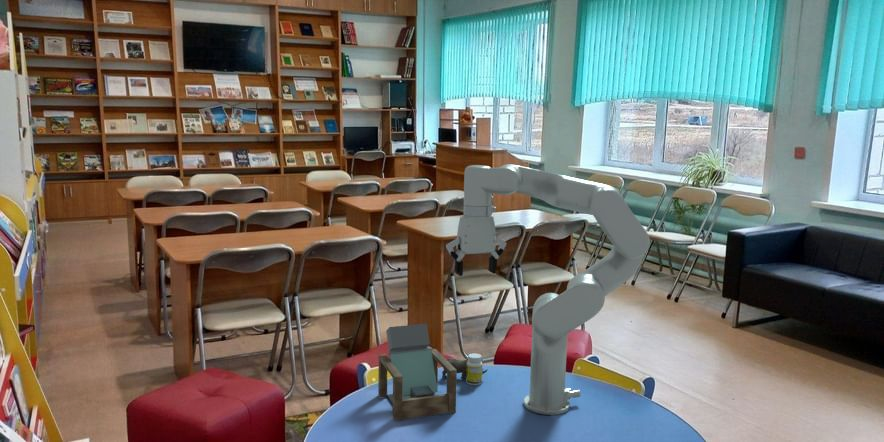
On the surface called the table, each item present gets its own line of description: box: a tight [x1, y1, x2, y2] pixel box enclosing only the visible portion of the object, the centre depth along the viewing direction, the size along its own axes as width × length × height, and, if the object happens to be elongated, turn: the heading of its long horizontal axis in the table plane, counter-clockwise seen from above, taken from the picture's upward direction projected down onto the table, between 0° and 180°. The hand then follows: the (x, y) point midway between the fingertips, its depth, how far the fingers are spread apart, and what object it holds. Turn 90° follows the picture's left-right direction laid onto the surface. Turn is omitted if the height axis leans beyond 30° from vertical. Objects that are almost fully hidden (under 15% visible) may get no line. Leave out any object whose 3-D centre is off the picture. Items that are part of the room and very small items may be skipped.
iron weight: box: [410, 386, 435, 398], centre depth 185 cm, size 5×5×5 cm
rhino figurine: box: [441, 358, 488, 381], centre depth 207 cm, size 4×14×6 cm, turn 84°
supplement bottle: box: [465, 352, 483, 386], centre depth 204 cm, size 5×5×8 cm
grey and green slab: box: [385, 323, 439, 396], centre depth 192 cm, size 12×19×4 cm
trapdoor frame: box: [377, 348, 458, 422], centre depth 188 cm, size 17×17×12 cm
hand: (475, 273), depth 187 cm, fingers open, 9 cm apart
